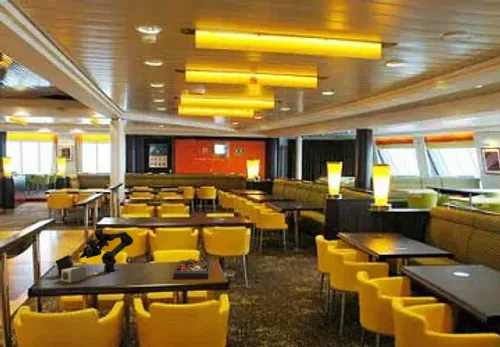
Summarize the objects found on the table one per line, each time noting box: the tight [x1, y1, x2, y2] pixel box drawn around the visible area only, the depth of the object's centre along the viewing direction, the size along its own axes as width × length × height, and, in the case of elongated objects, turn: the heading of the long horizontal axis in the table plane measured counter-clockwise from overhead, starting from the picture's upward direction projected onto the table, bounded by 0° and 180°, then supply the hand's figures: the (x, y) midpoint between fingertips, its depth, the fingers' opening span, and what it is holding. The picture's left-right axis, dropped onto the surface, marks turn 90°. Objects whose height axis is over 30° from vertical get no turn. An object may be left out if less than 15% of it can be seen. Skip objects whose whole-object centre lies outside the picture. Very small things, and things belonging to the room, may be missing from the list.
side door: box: [71, 262, 88, 283], centre depth 347 cm, size 11×3×12 cm, turn 146°
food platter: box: [173, 258, 212, 279], centre depth 379 cm, size 45×25×10 cm, turn 3°
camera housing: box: [61, 266, 80, 283], centre depth 350 cm, size 13×10×8 cm
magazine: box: [54, 254, 74, 277], centre depth 364 cm, size 4×13×15 cm, turn 78°
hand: (83, 257), depth 357 cm, fingers open, 9 cm apart
